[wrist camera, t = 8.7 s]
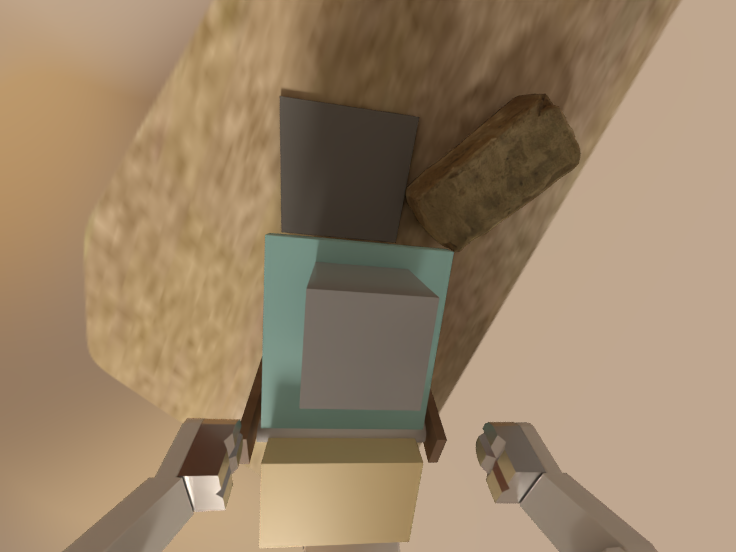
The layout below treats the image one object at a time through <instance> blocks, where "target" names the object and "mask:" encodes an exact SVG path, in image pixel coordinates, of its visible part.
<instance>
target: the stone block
mask: <svg viewBox="0 0 736 552" xmlns="http://www.w3.org/2000/svg"><path fill="white" fill-rule="evenodd" d="M580 154H581V153H580V148H579V145H578V143H577V141H576V140H575V136H574V132H573V129H572V128H571V127H570V126H569V124H568V123H567V121H566V118H565V116H564V114H563V112H562V111H561V109H560V108H559V107H558V106H555V105H553V104H552V102H551V101H550V99H549V98H548V96H547V95H546V94H530V95H522V96H518V97H515V98H514V99H513V100H511V101H510V102H509V103H508V104H507V105H505V106H504V107H503V108H501V109H500V110H499V111H498V112H497V113H496V114H495V115H493V116H492V117H491V118H490V119H489V120H487V121H486V122H485V123H484V124H483V125H482V126H480V127H479V128H478V129H477V130H475V131H474V132H473V133H472V134H471V135H469V136H468V137H467V138H466V139H465V140H464V141H463V142H462V143H461V144H460V145H459V146H458V147H456V148H455V149H453V150H452V151H450V152H449V153H448V154H447V155H446V156H445V157H443V158H442V159H441V160H439V161H438V162H437V163H435V164H434V165H432V166H431V167H429V168H428V169H427V170H426V171H424V172H423V173H422V174H421V175H420V176H418V177H417V178H416V179H415V180H414V181H413V182H412V183H411V184H410V185H409V186H408V188H407V189H406V198H407V203H408V205H409V206H410V208H411V209H412V211H413V212H414V214H415V216H416V218H417V220H418V222H419V223H420V224H421V225H422V226H423V228H424V229H425V230H426V231H427V232H428V233H429V234H430V235H431V236H432V237H433V238H434V239H435V240H436V241H437V242H439V243H440V244H441V245H442V246H444V247H446V248H449V249H451V250H453V251H454V252H459V251H461V250H462V249H463V248H464V247H465V246H466V245H467V244H468V243H470V242H471V241H472V240H474V239H475V238H477V237H479V236H481V235H484V234H486V233H487V232H489V231H490V230H491V229H492V228H494V227H495V226H496V225H498V224H499V223H500V222H502V221H503V220H505V219H506V218H508V217H509V216H510V215H512V214H513V213H515V212H516V211H517V210H519V209H520V208H522V207H523V206H524V205H526V204H527V203H529V202H530V201H531V200H533V199H534V198H535V197H537V196H538V195H539V194H541V193H542V192H543V191H545V190H546V189H547V188H548V187H550V186H551V185H552V184H553V183H554V182H556V181H557V180H559V179H560V178H561V177H563V176H564V175H566V174H567V173H569V172H570V171H572V170H573V169H574V168H575V167H576V166H577V165H578V164H579V160H580Z"/></svg>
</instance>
